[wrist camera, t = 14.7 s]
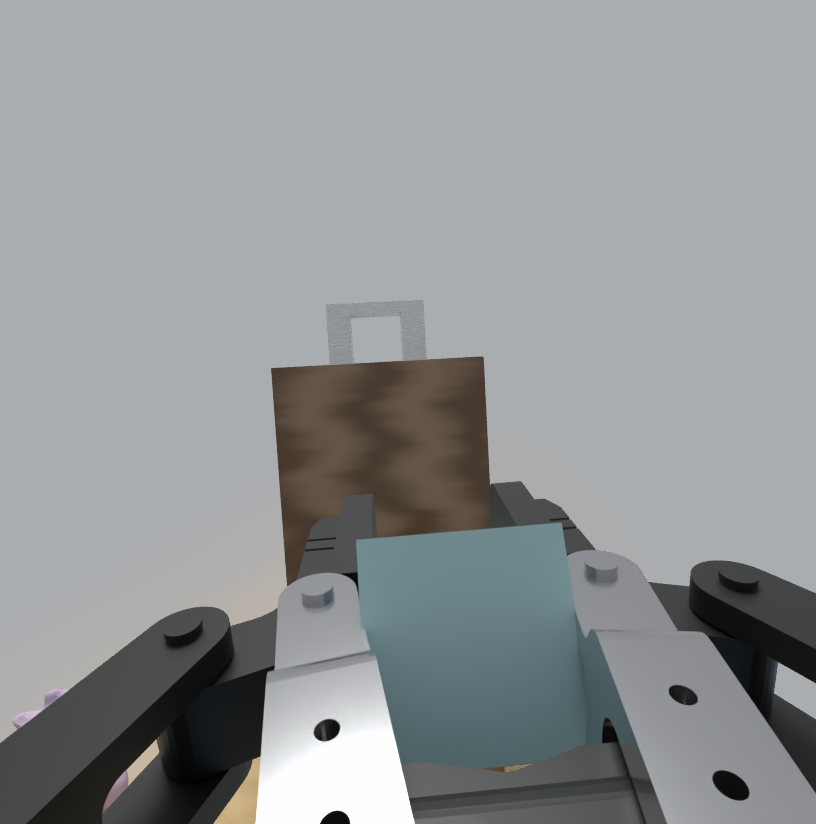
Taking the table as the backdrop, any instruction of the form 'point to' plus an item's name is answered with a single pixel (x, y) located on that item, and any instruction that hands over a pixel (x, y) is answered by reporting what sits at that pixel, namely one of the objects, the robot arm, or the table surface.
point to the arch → (343, 313)
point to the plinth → (382, 447)
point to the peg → (475, 644)
